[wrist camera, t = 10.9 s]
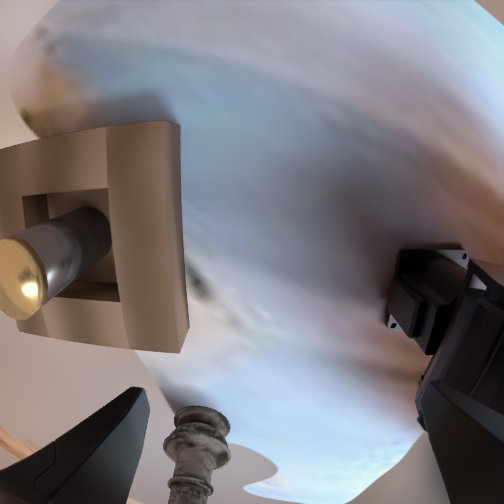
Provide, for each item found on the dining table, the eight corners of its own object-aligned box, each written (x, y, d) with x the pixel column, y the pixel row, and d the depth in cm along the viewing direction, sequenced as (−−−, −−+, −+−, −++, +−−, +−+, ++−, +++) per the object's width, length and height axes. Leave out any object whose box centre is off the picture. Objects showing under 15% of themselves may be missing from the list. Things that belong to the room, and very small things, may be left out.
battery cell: (109, 205, 19) (26, 240, 11) (116, 262, 21) (45, 324, 12) (63, 208, 19) (-24, 242, 11) (70, 261, 21) (-6, 315, 12)
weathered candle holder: (158, 413, 25) (123, 519, 14) (210, 396, 24) (189, 518, 13) (194, 448, 27) (176, 547, 15) (245, 434, 26) (240, 544, 14)
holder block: (180, 125, 18) (164, 120, 15) (189, 326, 22) (179, 353, 19) (18, 150, 19) (-11, 152, 15) (40, 312, 23) (19, 331, 19)
